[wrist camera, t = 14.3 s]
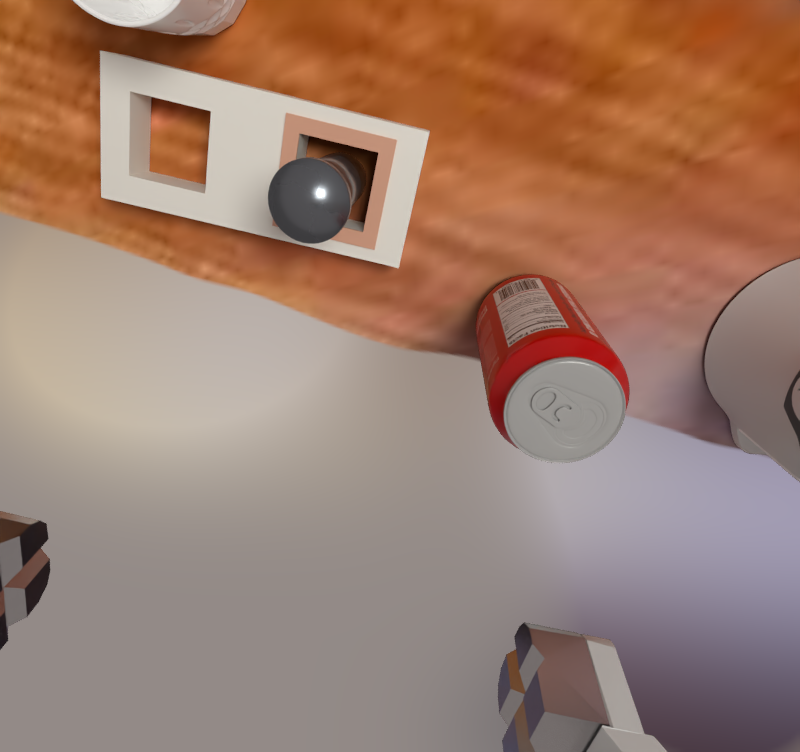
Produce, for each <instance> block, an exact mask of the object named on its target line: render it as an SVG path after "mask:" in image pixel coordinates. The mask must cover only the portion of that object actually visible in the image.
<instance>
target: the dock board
mask: <svg viewBox="0 0 800 752" xmlns="http://www.w3.org/2000/svg"><path fill="white" fill-rule="evenodd" d="M151 97H155V98H159V99H163V100H167V101H171V102H175V103H179V104H183V105H187V106H192V107H196V108H200V109H204V110H208V111H211V117H210V132H209V146H208V160H207V174H206V185H205V184H201V183H196V182H192V181H188V180H184V179H180V178H176V177H171V176H167V175H163V174H159V173H155V172H151V171H149V169H150V133H151ZM100 112H101V198H106V199H110V200H114V201H118V202H122V203H127V204H131V205H135V206H139V207H144V208H148V209H152V210H156V211H160V212H165V213H169V214H173V215H177V216H181V217H186V218H190V219H194V220H198V221H203V222H207V223H211V224H215V225H219V226H224V227H228V228H232V229H236V230H240V231H245V232H249V233H253V234H257V235H262V236H266V237H270V238H274V239H278V240H283V241H287V242H291V243H295V244H299V245H304V246H308V247H312V248H316V249H321V250H325V251H329V252H333V253H337V254H342V255H346V256H350V257H354V258H358V259H363V260H367V261H371V262H375V263H379V264H384V265H388V266H392V267H396V268H399V264H400V260H401V256H402V251H403V247H404V243H405V238H406V234H407V229H408V225H409V221H410V216H411V212H412V207H413V203H414V199H415V194H416V190H417V185H418V181H419V177H420V172H421V168H422V163H423V159H424V155H425V150H426V146H427V142H428V137H429V133H430V130H426V129H422V128H418V127H414V126H410V125H406V124H402V123H398V122H394V121H390V120H386V119H382V118H378V117H373V116H369V115H365V114H361V113H357V112H353V111H349V110H345V109H341V108H337V107H333V106H329V105H325V104H321V103H317V102H313V101H309V100H305V99H301V98H297V97H293V96H289V95H285V94H281V93H277V92H273V91H269V90H265V89H261V88H257V87H253V86H249V85H245V84H241V83H237V82H232V81H228V80H224V79H220V78H216V77H212V76H208V75H204V74H200V73H196V72H192V71H188V70H184V69H180V68H176V67H172V66H168V65H164V64H160V63H156V62H152V61H148V60H144V59H140V58H136V57H132V56H128V55H124V54H118V53H112V52H106V51H101V50H100ZM309 136H313V137H317V138H321V139H325V140H329V141H333V142H337V143H341V144H345V145H349V146H353V147H357V148H361V149H365V150H370V151H374V152H378V158H377V163H376V168H375V174H374V179H373V184H372V189H371V194H370V199H369V204H368V210H367V215H366V220H365V223H363V222H359V221H355V220H351V219H348V220H347V222H346V224H345V225H344V227H343V228H342V229H341V230H340V232H339V233H338V234H337V235H335V236H334V237H333V238H331V239H329V240H327V241H325V242H321V243H315V244H308V243H302V242H299V241H296V240H294V239H292V238H290V237H289V236H287V235H286V234H285V233H284V232H283V231H282V230H281V229H280V228H279V227H278V226H277V225H276V223H275V221H274V220H273V218H272V215H271V213H270V210H269V205H268V191H269V186H270V183H271V181H272V179H273V177H274V175H275V174H276V172H277V171H278V170H279V169H280V168H281V167H282V166H284V165H285V164H287V163H288V162H291V161H293V160H296V159H299V158H304V157H306V153H307V146H308V139H309Z"/></svg>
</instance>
